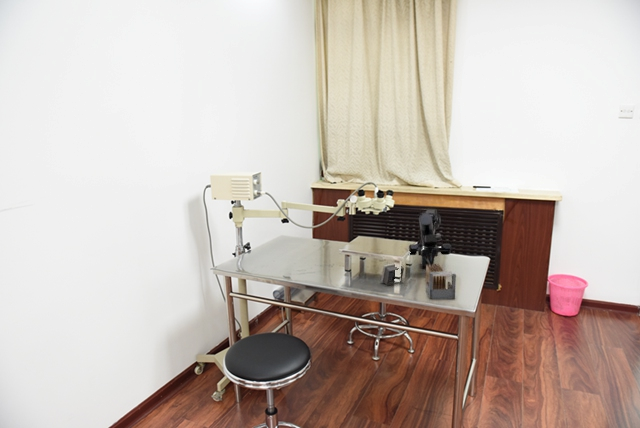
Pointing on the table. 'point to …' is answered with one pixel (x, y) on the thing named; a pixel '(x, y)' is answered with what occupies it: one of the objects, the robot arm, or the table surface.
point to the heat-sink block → (438, 281)
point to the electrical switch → (390, 273)
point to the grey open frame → (441, 293)
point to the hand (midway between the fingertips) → (431, 266)
